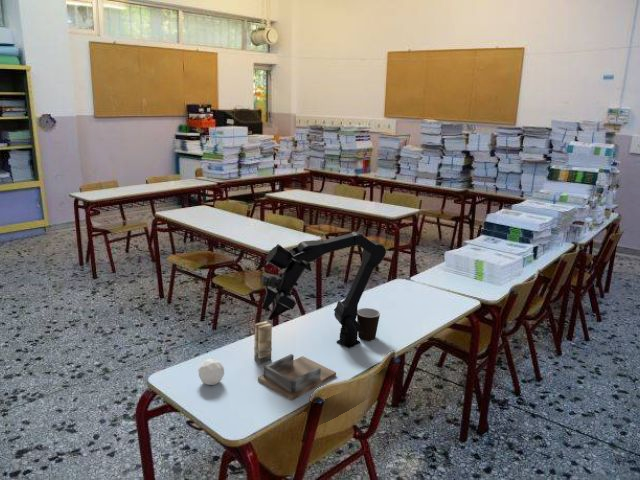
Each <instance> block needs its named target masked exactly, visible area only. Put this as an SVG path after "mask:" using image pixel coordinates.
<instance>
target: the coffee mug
mask: <svg viewBox="0 0 640 480" xmlns="http://www.w3.org/2000/svg"><path fill="white" fill-rule="evenodd" d="M380 315H381V312H380V311H379V310H377V309H375V308H371V307H370V308H369V307H364V308H359V309H357V317H356V321H357V322H358V323H359V324H360V325H361V329H360V331H359V332H358V335H357V338H358V337H359V338H360V339H359V338H358V339H359V340H361V341H363V340H364V341H363V342H372V341H371V340H373V341H374V340H376V335H377V332H378V328H379V327H378V326H379V321H380Z"/></svg>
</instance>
